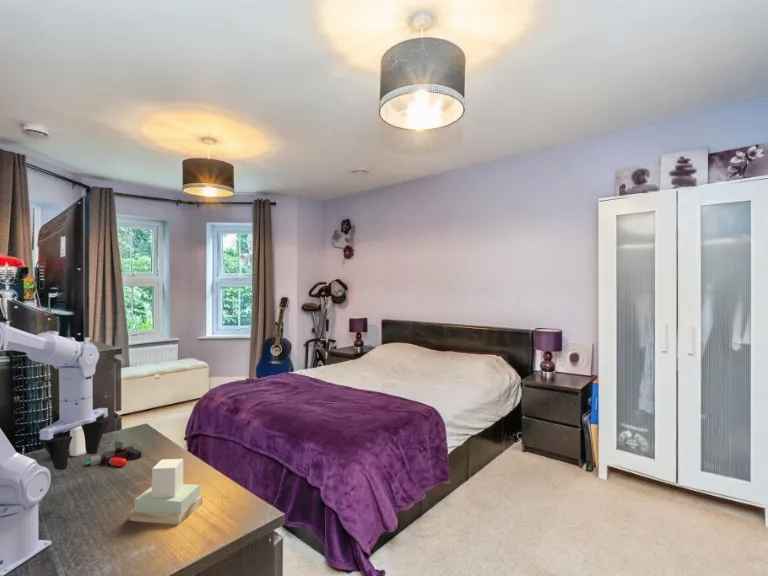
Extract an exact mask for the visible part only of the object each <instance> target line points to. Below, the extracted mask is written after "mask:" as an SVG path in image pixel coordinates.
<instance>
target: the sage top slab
mask: <svg viewBox="0 0 768 576" xmlns="http://www.w3.org/2000/svg"><path fill="white" fill-rule="evenodd" d="M200 492H201V486H200V484H194V483H193V484H192V483H191V484H188V483H183V487H182V488H181V490H180V491H179V492H178V494H177V495H176V496H175V497H161V498H152V486H151V487H149V488H148V489H146V490H145V491H144V492H143V493H141V494H140V495H138V496H137V497H136V498H134V508H135V512H152V513H172V514H182V513H183V512H184V511H185V510H186V509H187V508H188V507H189V506H190V505H191V504H192V503H193V502H194V501H195V500H196V499H197V498H198V497H199V496H200V495H201V493H200Z"/></svg>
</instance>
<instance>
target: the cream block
mask: <svg viewBox="0 0 768 576" xmlns="http://www.w3.org/2000/svg"><path fill="white" fill-rule="evenodd" d="M183 484H184V458H171V459H170V458H169V459H167V458H166V459H165V458H163V459H160V461H158V462H157V463H156V464H155V465H154V466H153V467H152V469H151V487H152V498H161V497H175V496H176V495H177V494H178V492H179V491H180V490H181V488H182V487H183Z"/></svg>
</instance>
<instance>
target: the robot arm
mask: <svg viewBox="0 0 768 576" xmlns="http://www.w3.org/2000/svg"><path fill="white" fill-rule="evenodd" d="M59 334H60V333H59V332H58V331H55V330H47V331H46V332H41V333H38V334H33V333H29V332H27V331H25V330H24V331H23V330H21V329H18V328H15V327H12V326H10V325H8V324H6V323H5V322H0V351H5V350H9V351H16V352H22V353H26V356H27V358H28V359H29V360H30V361H32V362H36V363H41V364H46V365H51V366H53V368H54V369H55V370H58V388H59V389H58V393H59V394H58V397H59V400H58V403H59V406H58V407H59V409H58V410H59V411H58V412H59V418H58V420H57V421H55V422H53V423H51V424H49V425H47V426H46V427H44V428H41V429H39V443H40V444H41V445H42V447H44V449H45V450H46V451H47V453H48V455H49V457H50V459H51V462H52V464H53V467H54V470H58V471H59V470H60V471H63V470H66V469H67V467H68V462H69V461H68V458H69V451H70V442H71V440H72V436H70V435H66V434H65V432H70V430H72V429H74V428H77V427H79V426H81V427H82V429H83V433H84V437H85V449H86V453H85V454H87V455H97V454H98V452H99V447H100V444H101V442H102V441H101V440H102V437H103V435H104V433H105V430H106V428H107V427H108V425H109V424H110V419H108V418H107V417H109V412H108V411H109V410H108V407H99V408H95V409H93V408H94V407H93V406H94V405H93V404H94V403H93V402H94V400H93V398H94V397H93V385H94V384H93V375H95V373H96V366H97V364H98V362H99V358H100V352H99V350H98V348H97V346H96V345H95V344H94V343H93V342H91V341H77V340H76V337H72V336H70V337H69V336H68V337H67V336H66V337H65V336H60V335H59ZM51 475H52V474H51V472H50V469H49V468H48V467H46V466H43V465H40V464H39V463H38V462H37V461H36V459H34V458H31V457H29V456H27V455H24V454H21V453H19V452H17V451H16V449H15V448H14V446H13V445H12V443H11V442H10V440H9V439H8V437H7V436H6V434H5V433H4V432H3V430H2V429H1V428H0V576H6V575H7V574H8V573H10V572H11V571H13V570H14V569H16V568H17V567H19V566H21V565H22V564H23V563H25V562H27V561H28V560H30V559H31V558H33V557H34V556H36V555H37V554H38V553H40V552H41V551H43V550H45V549H46V548H48V547H49V546H51V545H52V541H51V540H45V539H39V502H41V501H42V500H43V498H44V497H45V495H46V494H47V492H48V491H49V489H50V485H51V482H52V481H51V480H52V478H51V477H52V476H51Z"/></svg>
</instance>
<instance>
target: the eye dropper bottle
mask: <svg viewBox="0 0 768 576" xmlns="http://www.w3.org/2000/svg"><path fill="white" fill-rule="evenodd" d="M69 436H72V440H71V442H70V445H69V456H72V457H78V456H82V455H85V454H87V453H86V449H85V437H84V433H83V429H82V427H81V426H79V427H77V428H74V429H72V430H69Z"/></svg>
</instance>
